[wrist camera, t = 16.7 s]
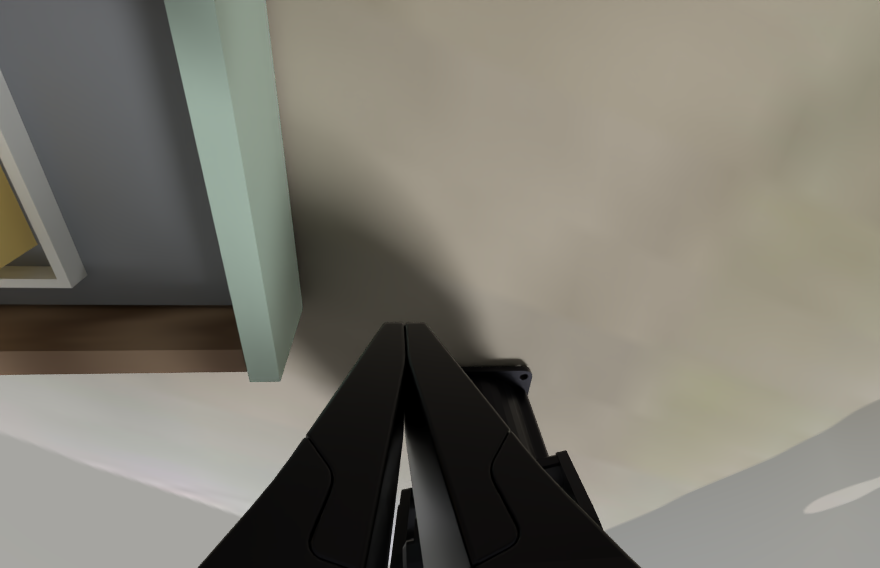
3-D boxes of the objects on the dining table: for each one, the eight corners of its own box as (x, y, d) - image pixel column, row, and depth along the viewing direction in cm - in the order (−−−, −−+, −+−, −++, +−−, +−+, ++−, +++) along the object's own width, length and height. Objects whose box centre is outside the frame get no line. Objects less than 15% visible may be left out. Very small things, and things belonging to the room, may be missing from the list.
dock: (216, -59, 14) (142, -90, 10) (274, 303, 22) (247, 371, 18) (-339, -113, 13) (-708, -177, 8) (-65, 302, 20) (-184, 377, 16)
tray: (258, -57, 14) (198, -88, 10) (302, 308, 22) (280, 381, 18) (-294, -110, 12) (-667, -178, 8) (-34, 307, 20) (-153, 388, 16)
